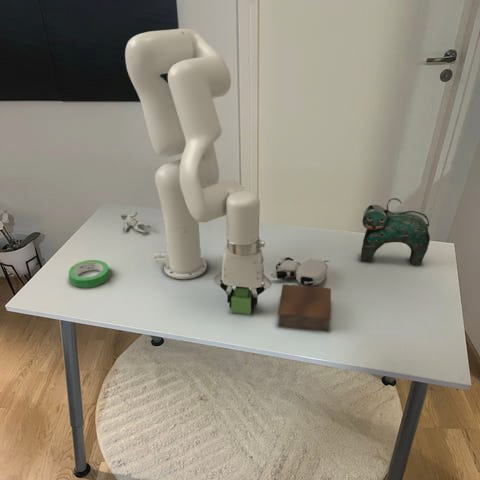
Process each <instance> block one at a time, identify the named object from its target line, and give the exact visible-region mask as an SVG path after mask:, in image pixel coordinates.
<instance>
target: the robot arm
mask: <svg viewBox="0 0 480 480" xmlns="http://www.w3.org/2000/svg"><path fill="white" fill-rule="evenodd" d="M124 59H125V66H126V71H127V73H128V77H129V79H130V81H131V83H132V85H133V87H134V89H135V92H136V93H137V96H138V98H139V100H140V104H141V109H142V112H143V117H144V120H145V125H146V128H147V131H148V136H149V140H150V143H151V146H152V149H153V151H154V153H156V155H157V156H159V157H162V158H168V157H173V156H177V155H181V154H182V155H181V158H180V159H177V160H173V161H170V162H167V163H164V164H163V165H161V166H159V168H158V169H157V170H156V172H155V175H154V182H155V187H156V191H157V193H158V197H159V201H160V205H161V210H162V211H161V212H162V219H163V226H164V235H165V242H166V243H165V244H166V251H165V252H160V251H159V252H158V251H155V252H154V259H155V262H156V263H160V264H161V263H162V264H163V270H164V273H165V274H166V275H167V276H169V277H170V278H172V279H177V280H191V279H194V278H197V277H200V276H201V275H203V274H204V273H205V272H206V270H207V261H206V259H204V258H203V257H202V256H201V255H202V254H201V241H200V223H208V222H210V221H213V220H216V219H219V218H222V217H225V216H226V245H225V246H224V250H223V255H222V267H221V270H220V271H219V272H218V273H217V275H216V276H215V277H214V279H213V282H214V283H215V284H216V285H217V286H219V287H220V289H222V290H223V291H224V292H225V294H226V300H227V303H228V304H229V308H231V299H232V296H233V292H234V288H233V287H236V286H238V287H248V288H250V289H251V290H252V296H251V309H252V310H253V311H254V310H255V306H258V299H259V295H260V294H262V293H263V292H265V291H267V290H268V289H270V288H271V287H272V285H273V282H272V281H271V280H270V278H268V276H267V275H266V274H265V273H264V271H265V269H264V268H265V266H264V253H263V249H262V248H265V246H266V245H265V244H266V242H265V241H263V240H261V239H260V216H261V215H260V214H261V213H260V212H261V210H260V209H261V201H260V197H259V196H258V195H257V194H256V193H254V192H252V191H249V190H246V189H245V188H244V187H243V186H242V185H241V184H240V183H239V182H238V181H236V180H234V179H227V180H224V181H220V182H219V179H220V169H219V164H218V158H217V154H216V148H215V143H216V141H217V140H218V139H219V138H220V137H221V136H222V132H223V130H222V127H221V124H220V123H221V122H220V120H219V116H218V112H217V109H216V106H215V102H214V99H215V98H221V97H224V96H225V95H227V94H228V92H229V91H230V90H231V85H232V79H231V78H232V77H231V73H230V69H229V66H228V65H227V63H226V62H225V60H224V58H223V57H222V56H221V54H220V53H219V52H218V51H217V50H216V49H215V48H214V47H213V46H212V45H211V44H210V43H209V42H208V41H207V40H206V39H205V38H204V37H203V36H202V35H201V34H199V33H198V32H197V31H195V30H194V29H192V28H175V29H174V28H173V29H161V30H151V31H146V32H142V33H138V34H136V35H134V36H132V37H131V38H130V39H129V40H128V41H127V43H126V46H125V50H124ZM165 74H167V81H166V80H165V79H164V78H163V77H162V75H165ZM252 310H251V311H252Z"/></svg>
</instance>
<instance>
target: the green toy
mask: <svg viewBox="0 0 480 480" xmlns="http://www.w3.org/2000/svg"><path fill="white" fill-rule="evenodd" d="M233 290H234V292H233V296H232V299H231V307H230V308H231V309H230V310H231V313H233V314H243V315H251V313H252V309H251V296H252V290H251V288H248V287H238V286H235V287H234V288H233Z"/></svg>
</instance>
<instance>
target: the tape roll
mask: <svg viewBox="0 0 480 480" xmlns="http://www.w3.org/2000/svg"><path fill="white" fill-rule="evenodd" d="M89 271H98V272H99V273H97V274H95V275H90V276H79V275H81V274H82V273H84V272H89ZM68 277H69V280H70V284H72V285H73V286H74V287H77V288H81V289H87V288H89V289H90V288H94V287H95V288H96V287H98V286H101V285H103V284H104V283H106V282H108V281H109V279H110V277H111V273H110V268H109V265H108V264H107V262H104V261H102V260H99V259H88V260H87V259H86V260H82V261H79V262H77V263H75V264H74V265H72V266H71V267H70V268H69V269H68Z"/></svg>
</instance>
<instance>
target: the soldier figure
mask: <svg viewBox="0 0 480 480" xmlns="http://www.w3.org/2000/svg"><path fill="white" fill-rule="evenodd" d="M137 215H138V211H135V212H134V213H133V214H128V213H121V214H120V218H121V220H123V221H124V224H125V228H124V232H127V230H128V229H129V226H130V227H131V228H133V229H134V230H135V231H136V232H138V233H143V234H144V235H145V234H146V235H147V234H148V232H147V231H146V230H143V229H142V228H141V226H144V227H147V228H148V229H151V225H150V224H147V223H146V222H144V221H138V220H137V219H136V218H135V217H136V216H137Z"/></svg>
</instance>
